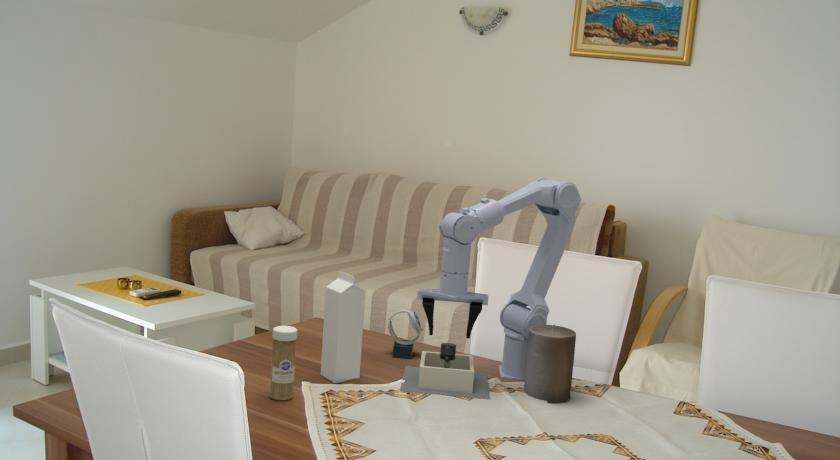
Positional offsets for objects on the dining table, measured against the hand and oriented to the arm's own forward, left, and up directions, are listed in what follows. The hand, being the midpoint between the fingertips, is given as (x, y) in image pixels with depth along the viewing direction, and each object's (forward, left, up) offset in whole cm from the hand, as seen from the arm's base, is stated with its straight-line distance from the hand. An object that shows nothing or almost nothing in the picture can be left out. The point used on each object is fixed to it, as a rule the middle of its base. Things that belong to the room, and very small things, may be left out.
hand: (449, 335), depth 153 cm
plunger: (0, 0, -10) cm, 10 cm away
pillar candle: (-21, +1, -11) cm, 24 cm away
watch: (+10, -16, -11) cm, 22 cm away
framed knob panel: (0, 0, -10) cm, 10 cm away
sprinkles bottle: (+31, +16, -11) cm, 36 cm away
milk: (+22, +2, -11) cm, 25 cm away
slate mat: (0, 0, -10) cm, 10 cm away
